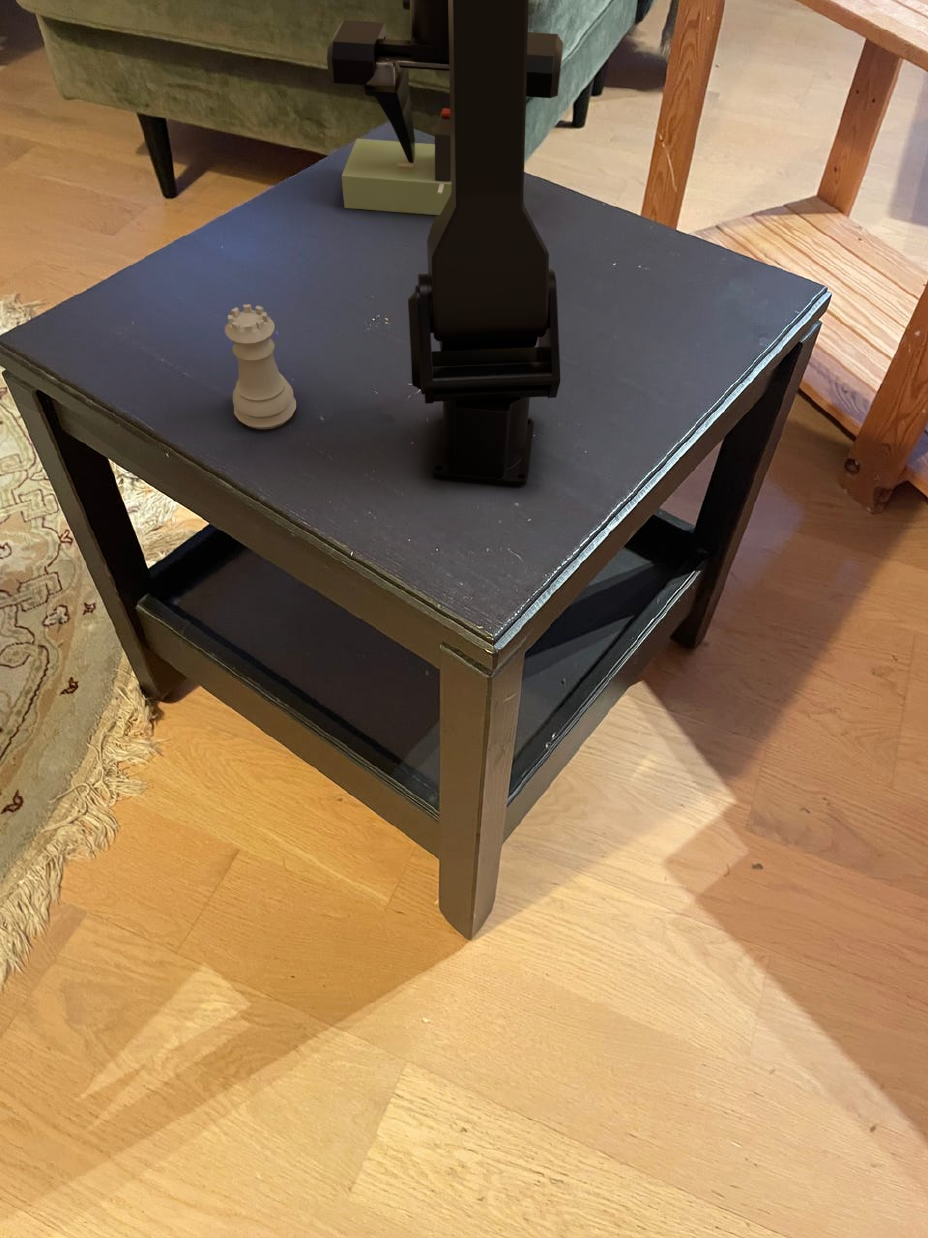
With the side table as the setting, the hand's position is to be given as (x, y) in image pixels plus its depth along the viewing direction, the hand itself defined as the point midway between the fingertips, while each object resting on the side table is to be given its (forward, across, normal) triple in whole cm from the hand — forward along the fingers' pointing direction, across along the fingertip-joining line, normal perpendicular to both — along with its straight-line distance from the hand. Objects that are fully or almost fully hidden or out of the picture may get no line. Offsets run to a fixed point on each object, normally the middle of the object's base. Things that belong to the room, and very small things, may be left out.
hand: (446, 163), depth 82 cm
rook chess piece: (+4, +9, +31) cm, 32 cm away
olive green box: (+4, +2, 0) cm, 4 cm away
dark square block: (0, 0, 0) cm, 0 cm away
